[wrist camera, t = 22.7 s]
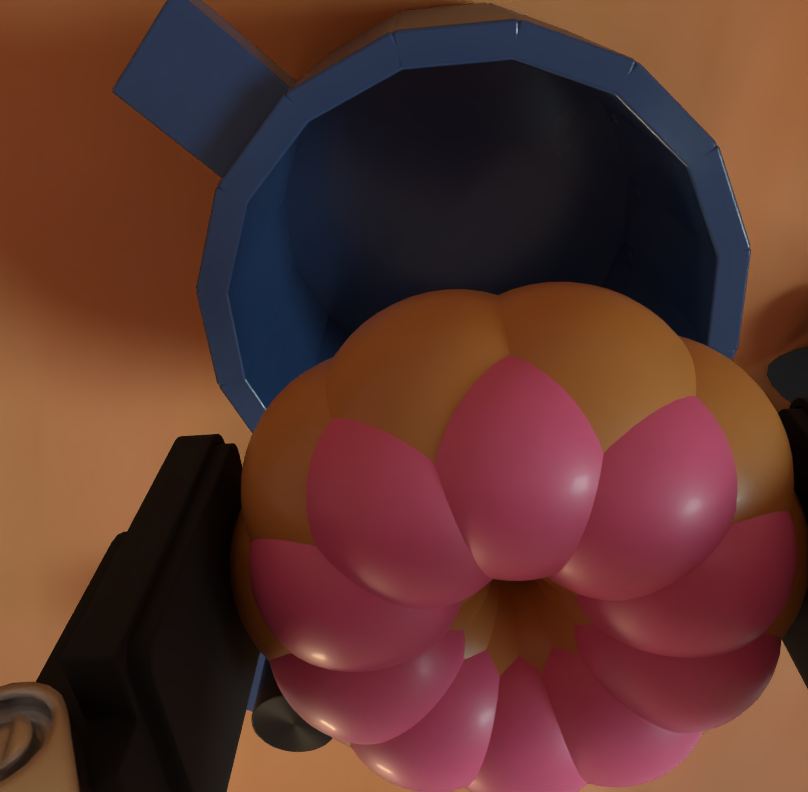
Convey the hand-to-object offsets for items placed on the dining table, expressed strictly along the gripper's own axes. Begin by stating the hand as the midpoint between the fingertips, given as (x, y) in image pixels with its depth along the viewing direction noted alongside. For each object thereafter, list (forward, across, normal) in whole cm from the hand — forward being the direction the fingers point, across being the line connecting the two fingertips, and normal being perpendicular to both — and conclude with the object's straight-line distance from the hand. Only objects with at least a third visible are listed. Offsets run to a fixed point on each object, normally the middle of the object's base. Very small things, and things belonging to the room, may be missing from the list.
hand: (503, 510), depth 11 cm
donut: (+1, 0, 0) cm, 1 cm away
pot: (+16, 0, 0) cm, 16 cm away
